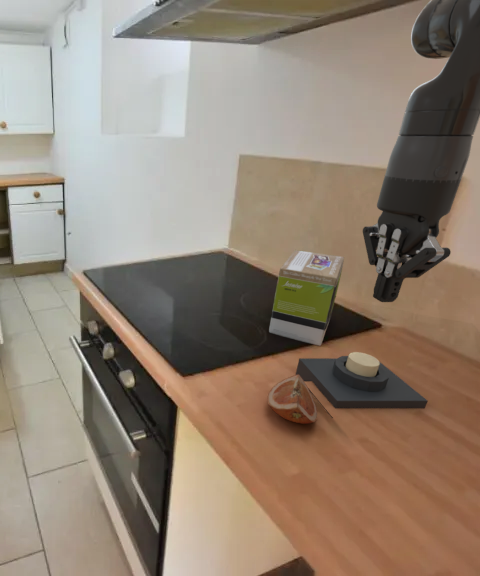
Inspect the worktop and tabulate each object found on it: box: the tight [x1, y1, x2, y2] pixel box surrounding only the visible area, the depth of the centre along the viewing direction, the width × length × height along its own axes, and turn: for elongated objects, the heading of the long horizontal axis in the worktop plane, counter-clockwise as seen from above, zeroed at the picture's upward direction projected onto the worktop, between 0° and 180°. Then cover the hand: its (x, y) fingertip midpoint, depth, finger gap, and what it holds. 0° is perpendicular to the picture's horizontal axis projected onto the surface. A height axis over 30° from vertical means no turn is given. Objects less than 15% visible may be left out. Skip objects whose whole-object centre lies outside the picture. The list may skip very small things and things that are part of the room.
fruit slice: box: [267, 374, 318, 425], centre depth 55 cm, size 8×7×5 cm
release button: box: [346, 351, 381, 377], centre depth 58 cm, size 4×4×2 cm
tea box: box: [268, 249, 345, 347], centre depth 79 cm, size 15×10×15 cm, turn 144°
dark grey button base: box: [295, 355, 428, 419], centre depth 60 cm, size 13×11×5 cm
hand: (383, 299), depth 54 cm, fingers closed
